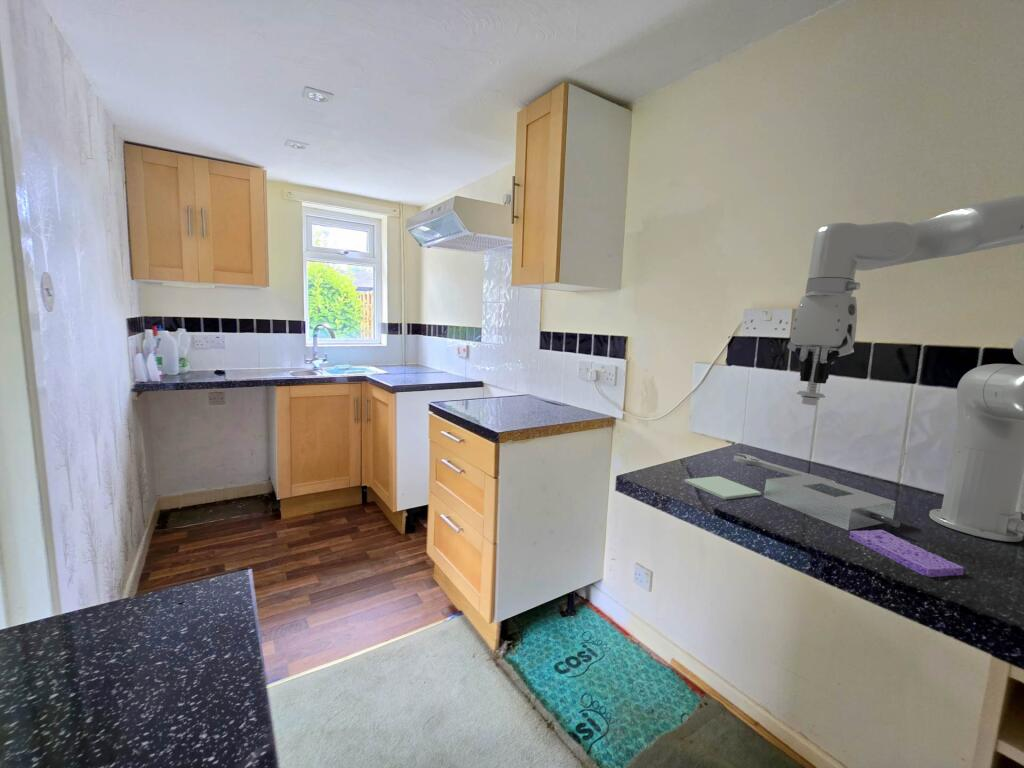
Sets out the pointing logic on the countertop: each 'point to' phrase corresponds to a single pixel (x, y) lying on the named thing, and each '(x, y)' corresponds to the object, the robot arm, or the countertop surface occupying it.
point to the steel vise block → (831, 501)
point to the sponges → (906, 553)
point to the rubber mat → (722, 487)
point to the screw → (811, 395)
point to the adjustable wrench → (769, 465)
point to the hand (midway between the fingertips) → (812, 381)
